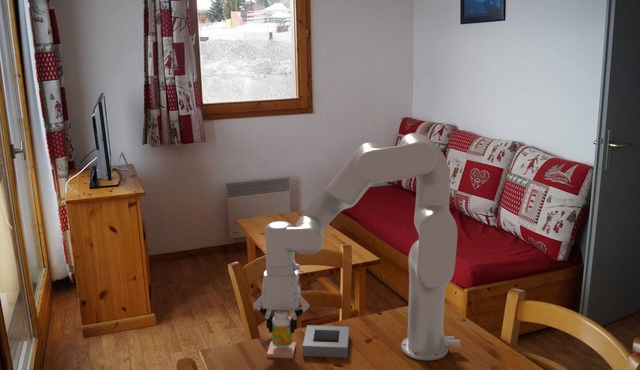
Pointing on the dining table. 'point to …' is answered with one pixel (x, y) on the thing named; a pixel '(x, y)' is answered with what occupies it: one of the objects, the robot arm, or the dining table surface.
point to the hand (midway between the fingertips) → (282, 330)
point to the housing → (326, 347)
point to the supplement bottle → (281, 329)
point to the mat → (281, 351)
